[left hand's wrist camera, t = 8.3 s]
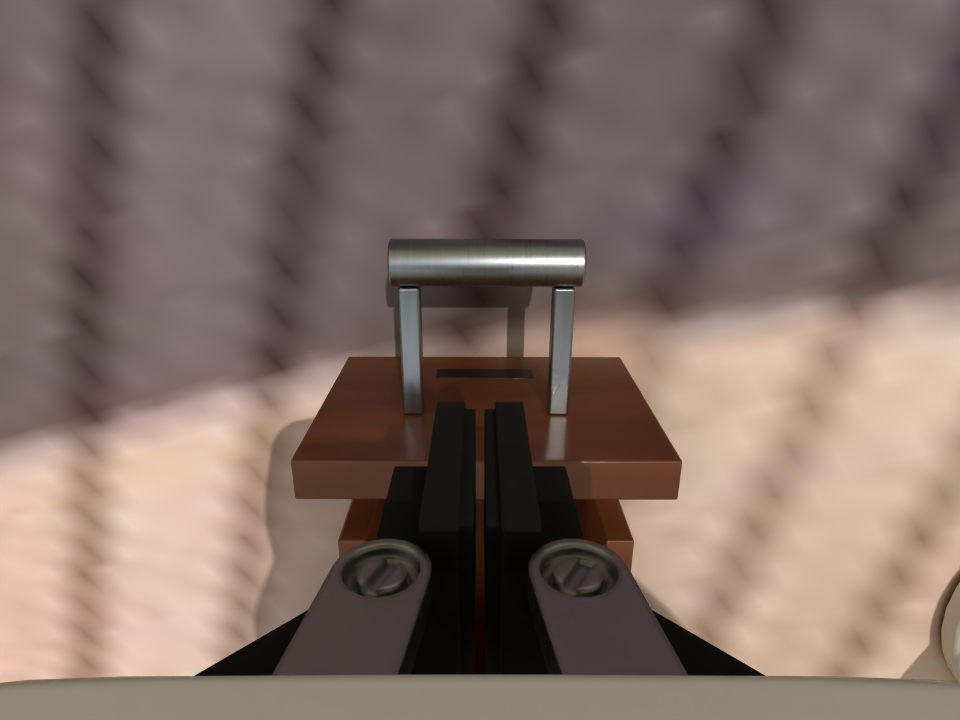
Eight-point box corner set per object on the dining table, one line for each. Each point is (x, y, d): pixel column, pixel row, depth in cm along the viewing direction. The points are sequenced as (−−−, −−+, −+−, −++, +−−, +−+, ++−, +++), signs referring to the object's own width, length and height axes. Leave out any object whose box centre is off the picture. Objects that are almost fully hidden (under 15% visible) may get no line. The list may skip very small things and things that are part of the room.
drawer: (337, 215, 22) (266, 261, 15) (632, 215, 22) (709, 262, 15) (377, 735, 31) (345, 927, 23) (587, 735, 31) (620, 927, 23)
